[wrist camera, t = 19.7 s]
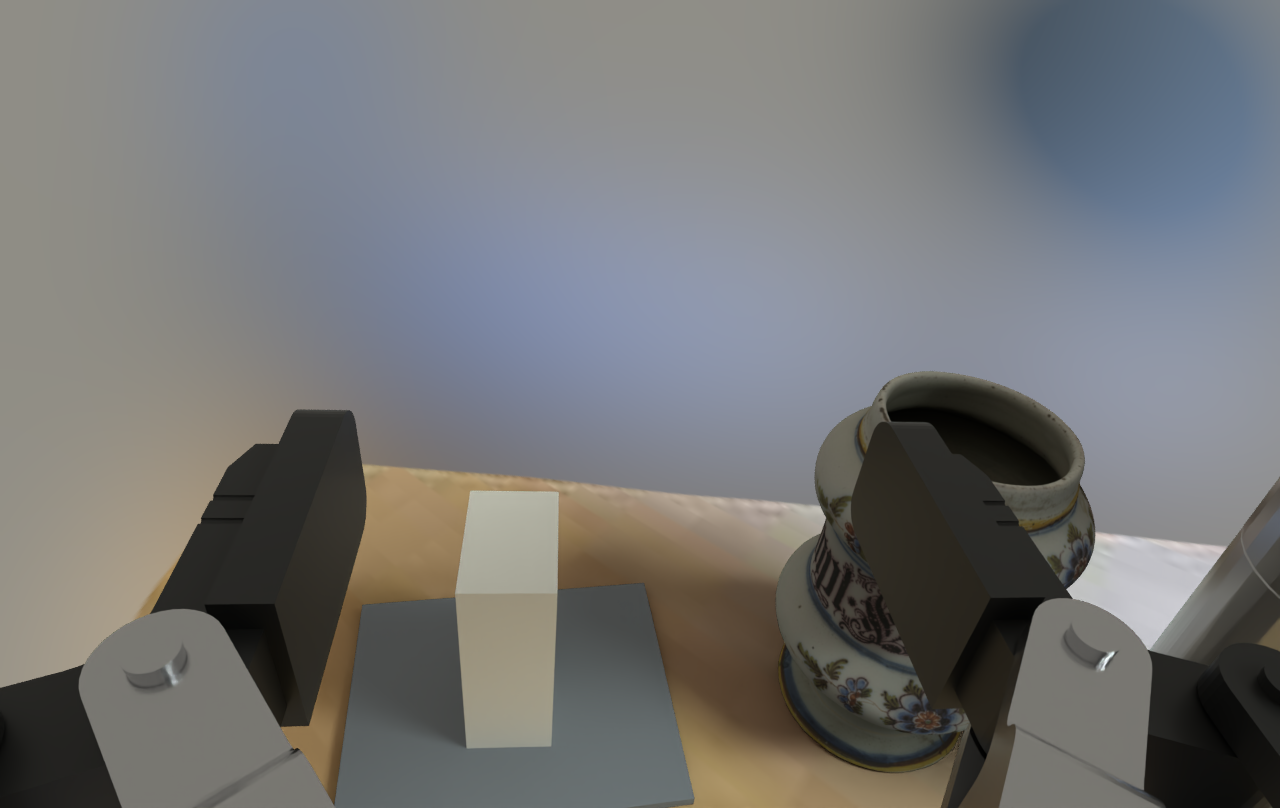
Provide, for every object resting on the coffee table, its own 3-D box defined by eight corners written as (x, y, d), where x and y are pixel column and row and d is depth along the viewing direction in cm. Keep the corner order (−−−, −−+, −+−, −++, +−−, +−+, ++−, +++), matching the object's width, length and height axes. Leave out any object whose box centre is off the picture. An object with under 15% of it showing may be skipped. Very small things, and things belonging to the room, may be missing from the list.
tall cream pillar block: (552, 642, 42) (558, 491, 36) (551, 746, 37) (557, 593, 31) (478, 643, 41) (470, 490, 35) (466, 748, 37) (455, 593, 30)
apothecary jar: (956, 617, 47) (1080, 368, 36) (1007, 816, 37) (1198, 552, 26) (757, 585, 47) (823, 331, 37) (755, 772, 37) (845, 498, 27)
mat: (643, 588, 46) (644, 582, 46) (693, 803, 36) (694, 798, 36) (363, 610, 43) (362, 604, 43) (330, 853, 33) (328, 847, 32)
